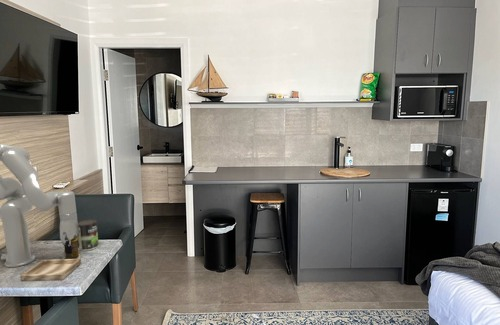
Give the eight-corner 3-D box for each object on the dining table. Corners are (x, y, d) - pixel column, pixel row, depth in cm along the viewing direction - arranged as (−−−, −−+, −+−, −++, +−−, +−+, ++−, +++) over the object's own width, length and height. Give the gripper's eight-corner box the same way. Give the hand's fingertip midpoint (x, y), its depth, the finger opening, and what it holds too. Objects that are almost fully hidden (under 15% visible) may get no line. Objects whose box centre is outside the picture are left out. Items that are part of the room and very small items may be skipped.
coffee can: (103, 244, 190) (100, 219, 188) (89, 251, 180) (87, 225, 178) (87, 242, 193) (85, 218, 191) (73, 250, 183) (70, 224, 181)
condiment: (79, 253, 178) (76, 231, 176) (80, 259, 171) (78, 236, 169) (63, 256, 174) (60, 234, 173) (64, 262, 167) (61, 239, 166)
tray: (21, 281, 150) (20, 275, 149) (43, 264, 166) (42, 259, 166) (62, 280, 150) (62, 274, 149) (81, 263, 166) (80, 258, 165)
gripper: (69, 211, 179) (73, 244, 182) (50, 222, 162) (55, 258, 165) (84, 211, 179) (87, 243, 182) (66, 221, 162) (70, 257, 164)
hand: (72, 250), depth 173 cm, fingers closed on condiment, 6 cm apart
